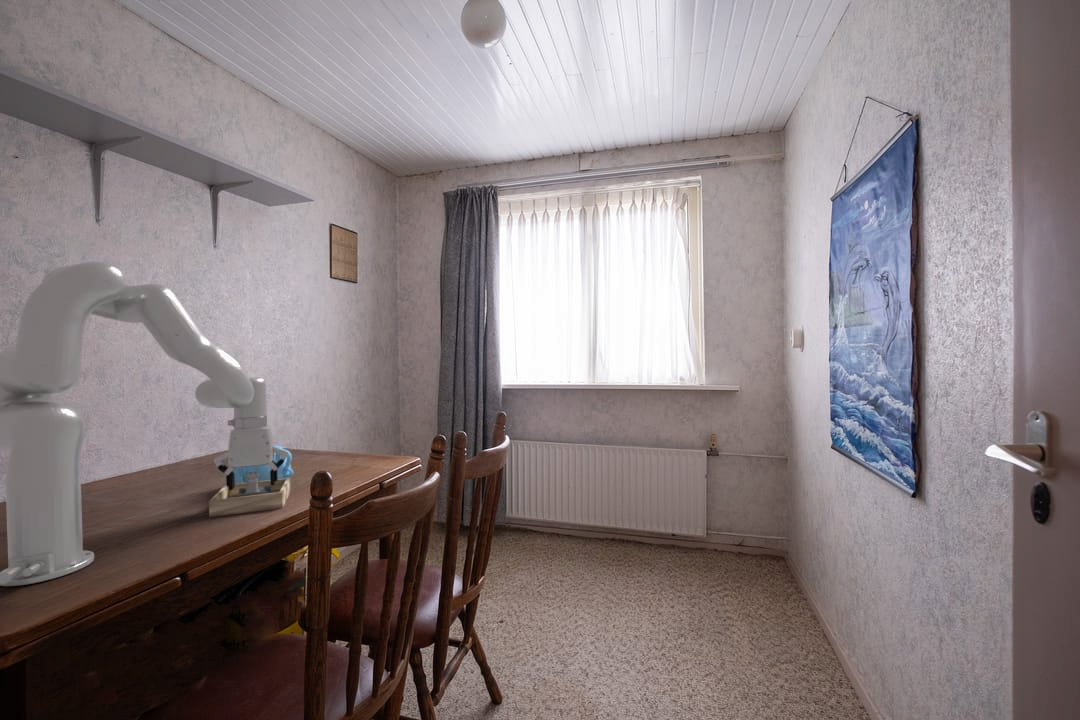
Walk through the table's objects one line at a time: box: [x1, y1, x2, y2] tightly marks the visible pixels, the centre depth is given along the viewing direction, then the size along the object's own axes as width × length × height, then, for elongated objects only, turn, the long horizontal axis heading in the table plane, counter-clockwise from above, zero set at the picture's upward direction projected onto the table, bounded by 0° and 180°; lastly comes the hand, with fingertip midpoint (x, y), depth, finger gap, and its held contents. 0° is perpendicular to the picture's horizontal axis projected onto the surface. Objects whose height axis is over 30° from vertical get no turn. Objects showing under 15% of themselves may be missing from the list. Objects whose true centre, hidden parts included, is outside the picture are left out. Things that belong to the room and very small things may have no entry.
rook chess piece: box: [245, 471, 260, 493], centre depth 124 cm, size 4×4×8 cm
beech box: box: [208, 477, 291, 518], centre depth 125 cm, size 16×16×4 cm
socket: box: [233, 485, 272, 497], centre depth 125 cm, size 8×8×3 cm
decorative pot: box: [233, 444, 294, 484], centre depth 142 cm, size 16×16×14 cm
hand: (252, 486), depth 125 cm, fingers open, 9 cm apart
